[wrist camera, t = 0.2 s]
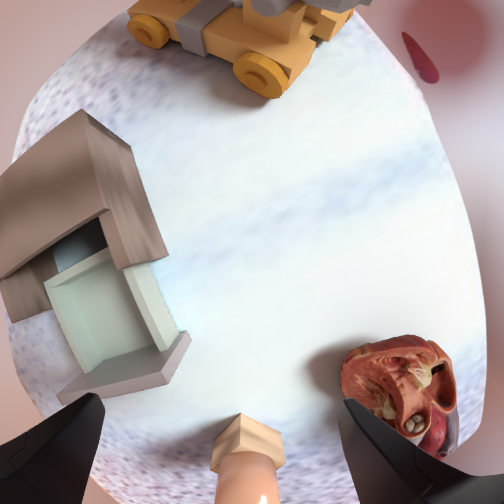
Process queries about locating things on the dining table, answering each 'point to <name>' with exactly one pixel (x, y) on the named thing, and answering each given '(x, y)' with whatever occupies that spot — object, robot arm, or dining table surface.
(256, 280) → the dining table surface
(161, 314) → the drawer
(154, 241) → the housing
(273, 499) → the tan rounded cylinder
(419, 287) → the dining table surface
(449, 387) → the anatomical model
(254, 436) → the block
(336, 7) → the toy cannon
